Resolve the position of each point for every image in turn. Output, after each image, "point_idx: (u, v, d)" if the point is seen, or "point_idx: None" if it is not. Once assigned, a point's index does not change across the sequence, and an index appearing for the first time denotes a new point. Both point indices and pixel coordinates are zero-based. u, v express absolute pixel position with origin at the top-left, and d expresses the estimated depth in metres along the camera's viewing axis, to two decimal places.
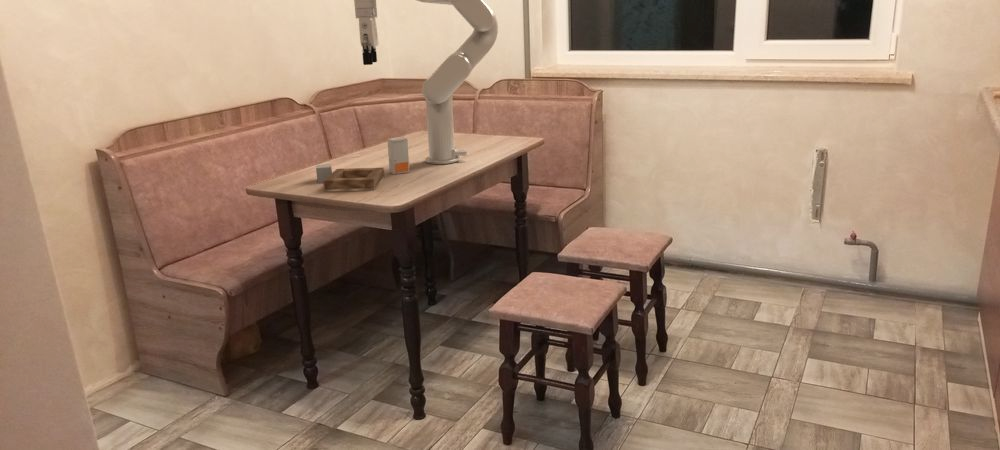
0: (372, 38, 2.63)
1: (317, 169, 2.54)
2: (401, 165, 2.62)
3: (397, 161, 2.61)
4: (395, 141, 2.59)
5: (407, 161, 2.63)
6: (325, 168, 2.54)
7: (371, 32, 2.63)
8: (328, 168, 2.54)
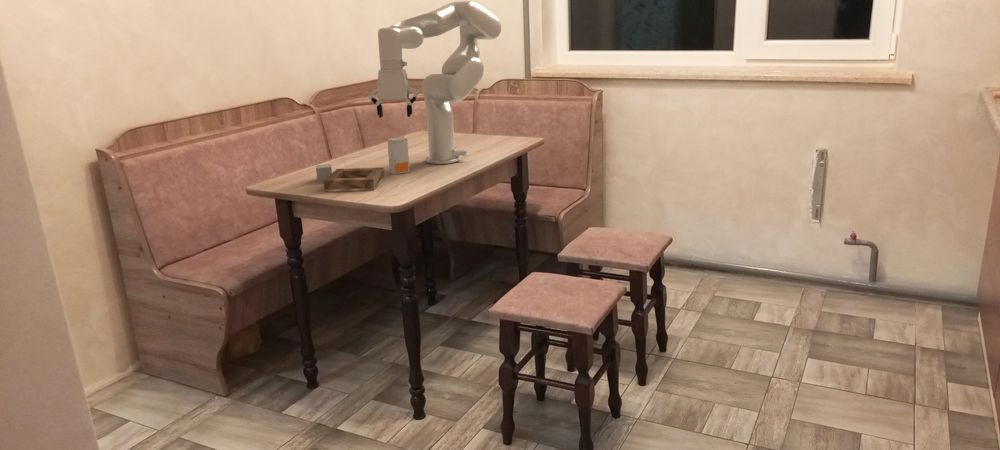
0: None
1: (317, 169, 2.54)
2: (401, 165, 2.62)
3: (397, 161, 2.61)
4: (395, 141, 2.59)
5: (407, 161, 2.63)
6: (325, 168, 2.54)
7: None
8: (328, 168, 2.54)
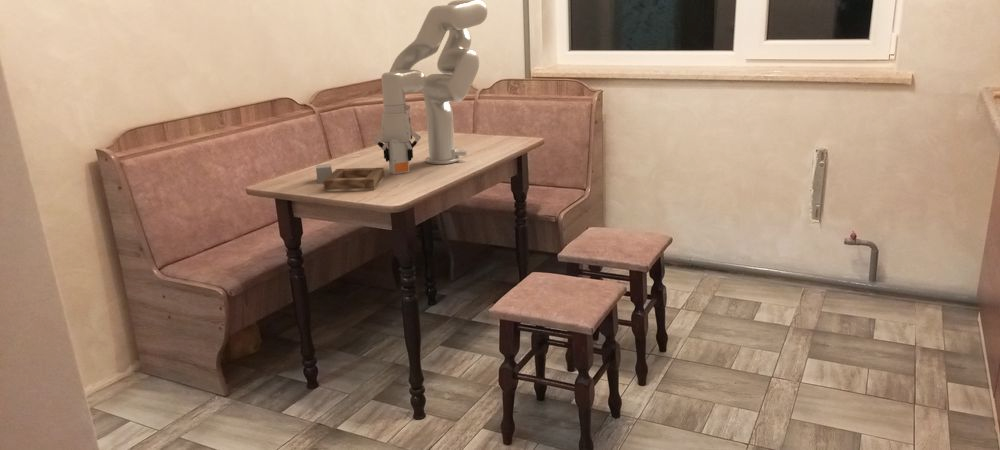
0: None
1: (317, 169, 2.54)
2: (401, 165, 2.62)
3: (397, 161, 2.61)
4: (395, 141, 2.59)
5: (407, 161, 2.63)
6: (325, 168, 2.54)
7: None
8: (328, 168, 2.54)
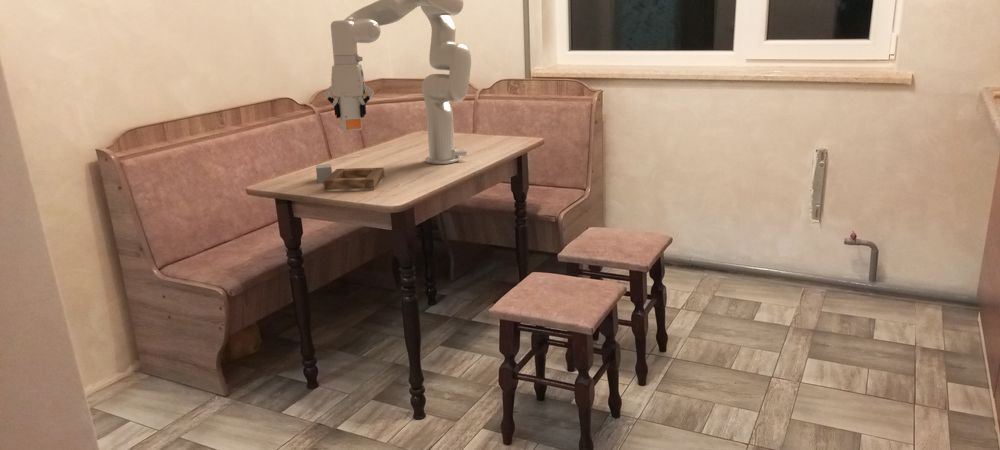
0: None
1: (317, 169, 2.54)
2: (353, 122, 2.43)
3: (349, 117, 2.42)
4: (346, 95, 2.40)
5: (360, 118, 2.44)
6: (325, 168, 2.54)
7: None
8: (328, 168, 2.54)
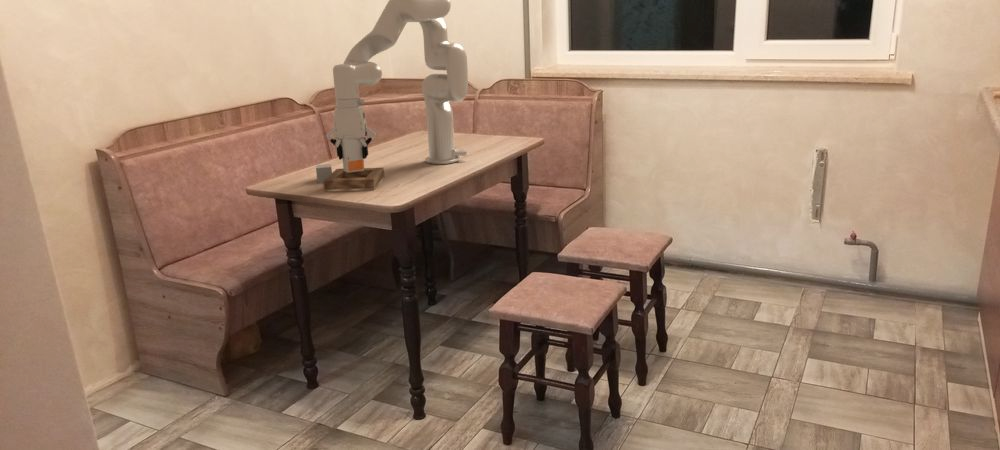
0: None
1: (317, 169, 2.54)
2: (356, 163, 2.46)
3: (351, 159, 2.45)
4: (348, 137, 2.43)
5: (362, 159, 2.47)
6: (325, 168, 2.54)
7: None
8: (328, 168, 2.54)
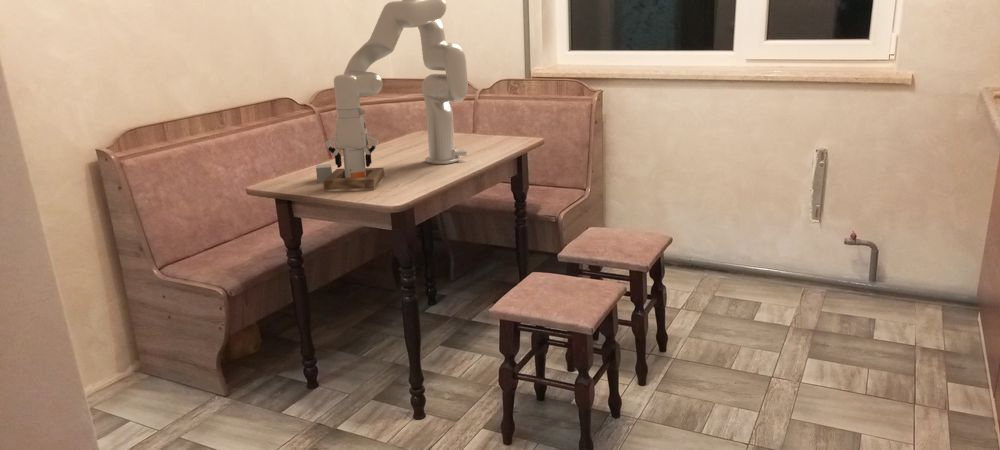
0: None
1: (317, 169, 2.54)
2: (358, 175, 2.48)
3: (353, 171, 2.47)
4: (350, 149, 2.44)
5: (364, 170, 2.48)
6: (325, 168, 2.54)
7: None
8: (328, 168, 2.54)
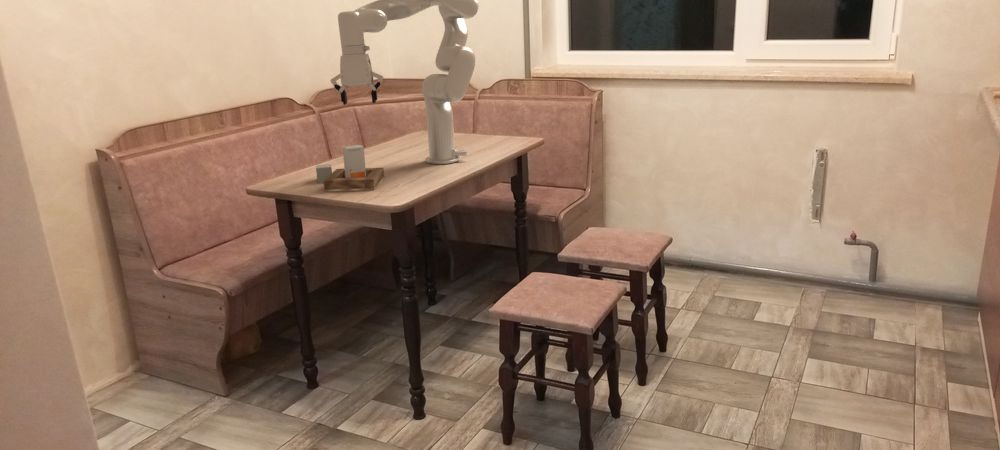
0: None
1: (317, 169, 2.54)
2: (358, 175, 2.48)
3: (353, 171, 2.47)
4: (350, 149, 2.44)
5: (364, 170, 2.48)
6: (325, 168, 2.54)
7: None
8: (328, 168, 2.54)
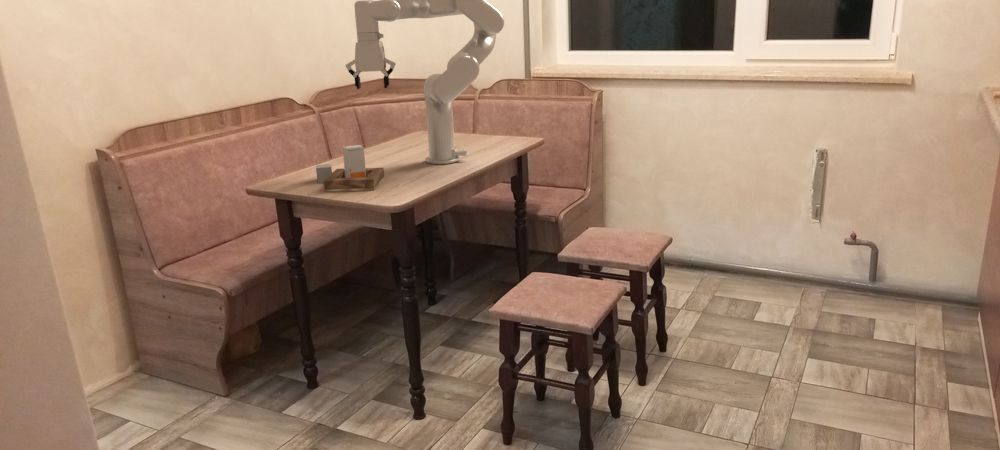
0: None
1: (317, 169, 2.54)
2: (358, 175, 2.48)
3: (353, 171, 2.47)
4: (350, 149, 2.44)
5: (364, 170, 2.48)
6: (325, 168, 2.54)
7: None
8: (328, 168, 2.54)
